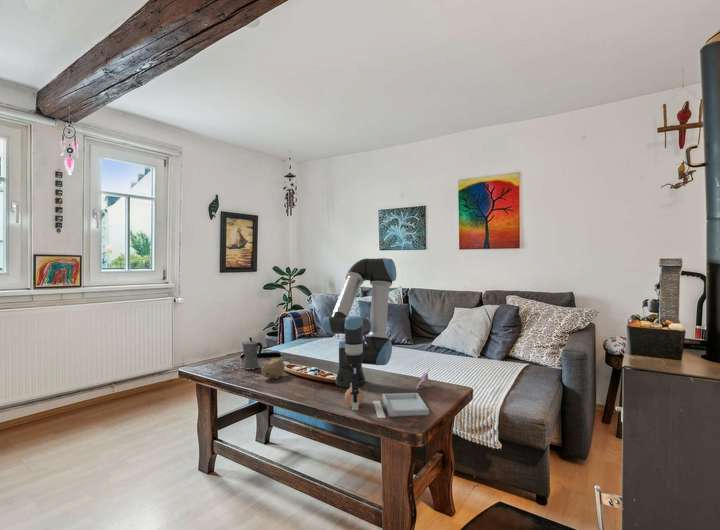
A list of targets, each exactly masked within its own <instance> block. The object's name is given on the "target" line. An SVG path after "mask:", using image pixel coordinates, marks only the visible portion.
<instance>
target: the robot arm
mask: <svg viewBox="0 0 720 530" xmlns="http://www.w3.org/2000/svg"><path fill="white" fill-rule="evenodd" d="M396 280H397V267H396V264H395V261H394V260H393V259H392V258H386V257H383V258H381V257H379V258H363V259H359V260H358V261H356V262H355V263H354V264H353V265H352V266H351V267H350V268H349V269H348V271H347V273H346V275H345V282H344V285H343V287H342V289H341V292H340V294H339V297H338V299H337V302H336V303H335V305H334V309H333V310H332V313H331V315H330V316H326V317H324V319H322V330H323V332H324V333H326V334H327V333H328V334H333V335H336V334H338V335H344V338H340V340H339V342H338V369H337V370H338V371H337V373H336V377H335V385H336V386H339V387H342V388H352V392H350V394H352V407H351V411H359V410H360V409H359V407H360V405H359V402H358V394H359V389H360V388H359V387H361V386H364V385H365V384H366V377H365V373H364V370H363V364H364V365H372V366H373V365H374V366H385V365H387V364H388V363H389V362H390V359H391V357H392V352H393V351H392V350H393V343H392V342H391V340H390V338H389V337H388V335H387V324H388V323H387V322H388V309H389V308H388V307H389V296H390V295H389V294H390V293H389V292H390V287H392V286H393V282H394V281H396ZM365 281H366V282H367V281H369V284H370V285H371V286H372V287H371V288H372V289H371V301H370V313H369V315H370V316H369V317H367V316H366V317H365V316H363V317H361V316H359V315H352V316H351V315H350V316H349V314H350V312H351V309H352V307H353V305H354V302H355V299H356V297H357V294H358V292H359V289H360V286H362V285H363V284H364V282H365ZM363 336H365V339H363ZM389 340H390V341H389ZM358 388H359V389H358ZM355 390H357V391H355Z"/></svg>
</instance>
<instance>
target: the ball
mask: <svg viewBox="0 0 720 530" xmlns="http://www.w3.org/2000/svg"><path fill="white" fill-rule="evenodd" d="M358 389H359V394H358V402H359V406H361V405H362V403H363V402H364V397H365V396H364V392H363V391H362V390H361V389H360V388H359V387H358ZM355 391H357V390H355ZM350 392H352V388H350V387H348V389H347V390H346V391H345V394H344V402H345V403H346V405H348V406H349V407H351V408H352V394H350Z"/></svg>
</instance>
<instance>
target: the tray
mask: <svg viewBox="0 0 720 530" xmlns="http://www.w3.org/2000/svg"><path fill="white" fill-rule="evenodd" d="M381 400H382V402H383V405H384V407H385V410H386V412H387V415H388V417H391V418H393V417H396V418H397V417H423V416H425V417H426V416H430V408H428V406H427V405H426V403H425V402H424V400H423V399H422V397H421V396H420V394H419V393H418V392H401V393H400V392H399V393H382V394H381Z"/></svg>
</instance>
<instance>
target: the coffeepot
mask: <svg viewBox="0 0 720 530" xmlns="http://www.w3.org/2000/svg"><path fill="white" fill-rule="evenodd" d="M241 345H242V350H243V355H244V357H243V363H242V368H243V367H244V368H250V369H252V368H257V367H258V366H260V365H259V360H258V359H259V358H260V357H261V354H262V350H263V347H264V346H263V344H262V343H261V342H259V341H257V340H253V337H251V336H250V337H249V340H246V341H243V342H241ZM258 368H259V367H258Z"/></svg>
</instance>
